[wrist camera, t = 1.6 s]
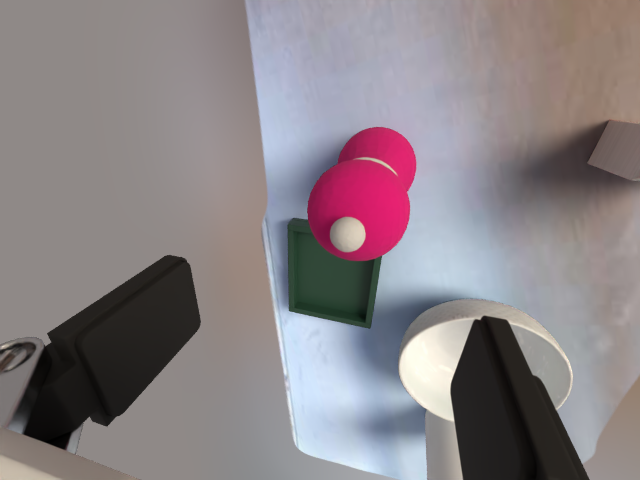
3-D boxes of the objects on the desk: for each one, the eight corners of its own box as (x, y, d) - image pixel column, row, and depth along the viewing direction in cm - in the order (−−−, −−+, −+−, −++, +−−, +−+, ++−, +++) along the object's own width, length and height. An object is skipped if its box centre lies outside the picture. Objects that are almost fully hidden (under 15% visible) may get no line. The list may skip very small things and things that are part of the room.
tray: (293, 217, 37) (287, 224, 35) (385, 231, 34) (384, 238, 33) (293, 302, 43) (288, 311, 41) (372, 318, 41) (370, 328, 39)
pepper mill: (341, 129, 31) (256, 176, 13) (413, 117, 28) (421, 153, 11) (351, 195, 34) (291, 302, 16) (416, 188, 31) (427, 305, 14)
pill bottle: (418, 399, 45) (422, 522, 32) (475, 399, 42) (505, 534, 29) (430, 432, 48) (438, 558, 35) (484, 434, 45) (515, 573, 32)
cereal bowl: (561, 284, 32) (598, 330, 26) (529, 388, 39) (552, 443, 33) (400, 275, 36) (399, 311, 30) (398, 369, 44) (396, 414, 37)
